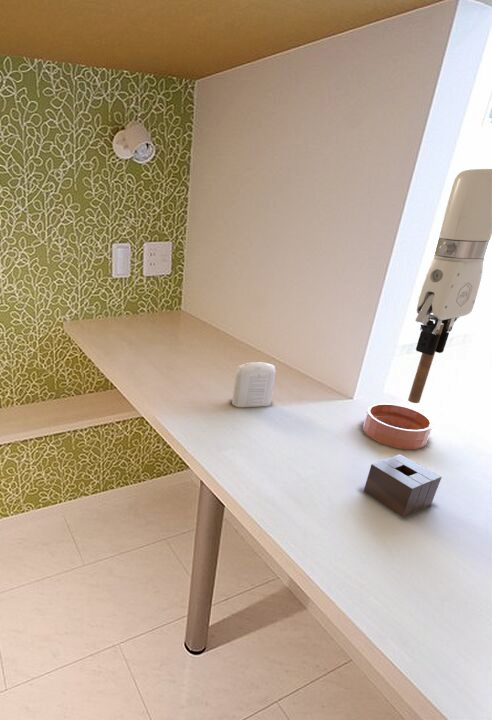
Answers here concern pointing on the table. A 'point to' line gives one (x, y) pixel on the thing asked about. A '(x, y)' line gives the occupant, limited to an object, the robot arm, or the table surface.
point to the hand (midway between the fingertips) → (429, 351)
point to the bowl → (399, 416)
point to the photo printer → (253, 384)
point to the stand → (402, 484)
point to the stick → (422, 374)
